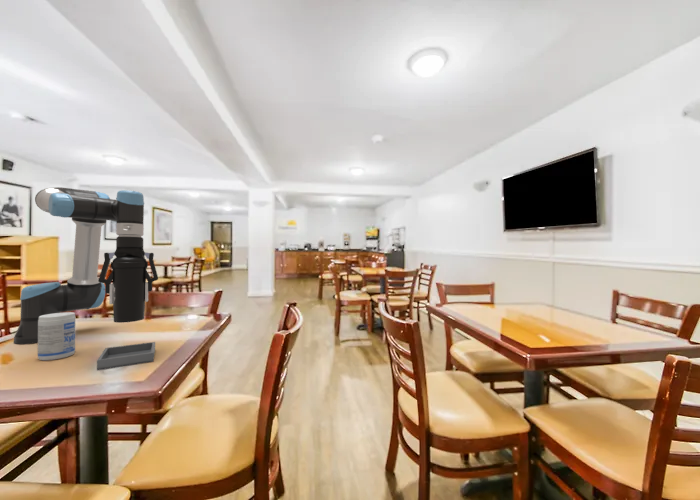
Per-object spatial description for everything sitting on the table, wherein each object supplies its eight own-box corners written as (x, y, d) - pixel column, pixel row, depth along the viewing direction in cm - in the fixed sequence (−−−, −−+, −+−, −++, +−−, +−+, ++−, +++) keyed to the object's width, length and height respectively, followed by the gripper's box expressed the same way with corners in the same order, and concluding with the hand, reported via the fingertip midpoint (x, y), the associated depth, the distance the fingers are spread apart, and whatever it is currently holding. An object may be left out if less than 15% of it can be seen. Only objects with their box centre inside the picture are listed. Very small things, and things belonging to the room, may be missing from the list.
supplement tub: (72, 358, 105) (72, 315, 105) (33, 363, 100) (33, 318, 100) (77, 350, 113) (78, 310, 113) (42, 355, 108) (42, 313, 108)
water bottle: (115, 318, 107) (116, 252, 107) (150, 315, 111) (150, 252, 111) (105, 324, 97) (106, 252, 98) (143, 321, 101) (144, 252, 102)
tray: (105, 356, 106) (105, 347, 106) (155, 349, 114) (155, 341, 114) (96, 370, 94) (97, 360, 94) (153, 361, 101) (153, 352, 101)
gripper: (86, 234, 96) (85, 306, 95) (167, 236, 107) (166, 301, 106) (91, 236, 102) (90, 303, 102) (167, 237, 113) (166, 298, 113)
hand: (129, 302), depth 104 cm, fingers closed on water bottle, 9 cm apart
